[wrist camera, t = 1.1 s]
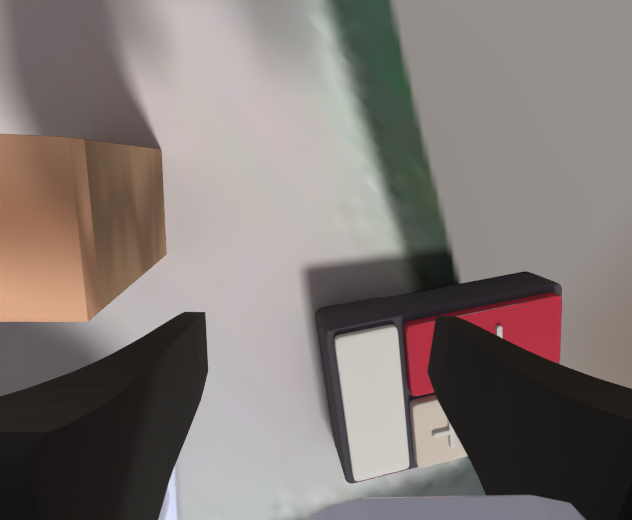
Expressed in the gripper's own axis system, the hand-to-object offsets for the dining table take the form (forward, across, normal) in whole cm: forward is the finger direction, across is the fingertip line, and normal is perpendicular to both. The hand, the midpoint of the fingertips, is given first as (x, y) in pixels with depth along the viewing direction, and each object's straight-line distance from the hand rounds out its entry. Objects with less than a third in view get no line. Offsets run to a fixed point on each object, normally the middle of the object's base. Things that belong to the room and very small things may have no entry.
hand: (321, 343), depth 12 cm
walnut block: (+12, +10, -2) cm, 16 cm away
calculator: (+13, -9, +9) cm, 18 cm away
